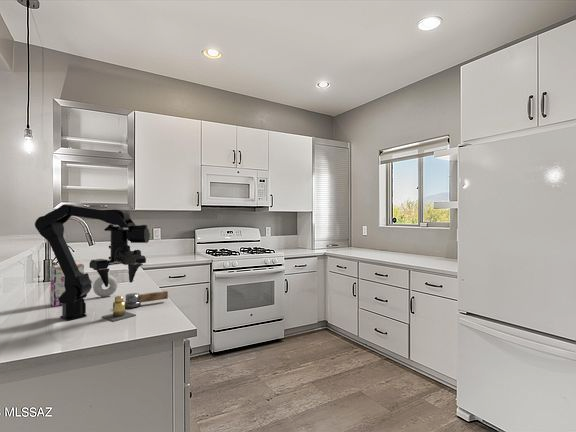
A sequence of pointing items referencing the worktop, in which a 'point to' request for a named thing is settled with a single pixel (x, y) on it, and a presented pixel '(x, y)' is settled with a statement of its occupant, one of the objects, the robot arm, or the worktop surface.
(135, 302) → the hammer
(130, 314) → the rubber mat
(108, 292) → the donut
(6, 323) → the worktop surface
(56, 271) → the candy bar box
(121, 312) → the brass calibration weight
